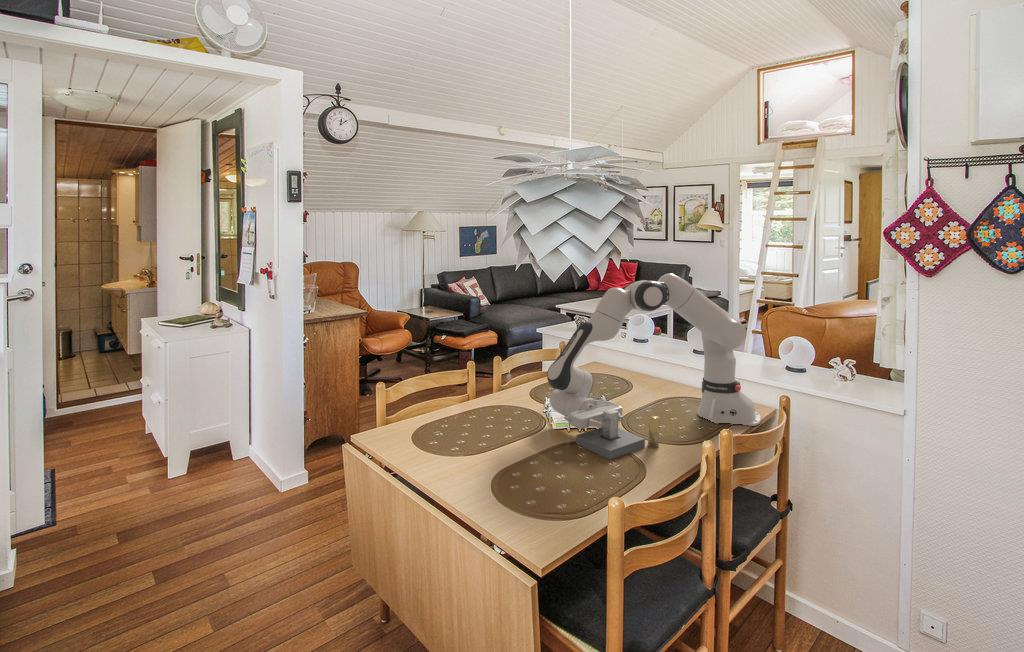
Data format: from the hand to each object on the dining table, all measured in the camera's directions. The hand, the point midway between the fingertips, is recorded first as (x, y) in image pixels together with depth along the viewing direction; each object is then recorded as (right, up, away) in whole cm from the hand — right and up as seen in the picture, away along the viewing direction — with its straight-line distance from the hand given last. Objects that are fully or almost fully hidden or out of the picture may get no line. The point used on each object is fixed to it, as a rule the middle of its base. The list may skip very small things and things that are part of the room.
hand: (612, 422), depth 187 cm
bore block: (0, -8, +2) cm, 9 cm away
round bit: (+14, -8, +1) cm, 16 cm away
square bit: (0, -8, +3) cm, 9 cm away
